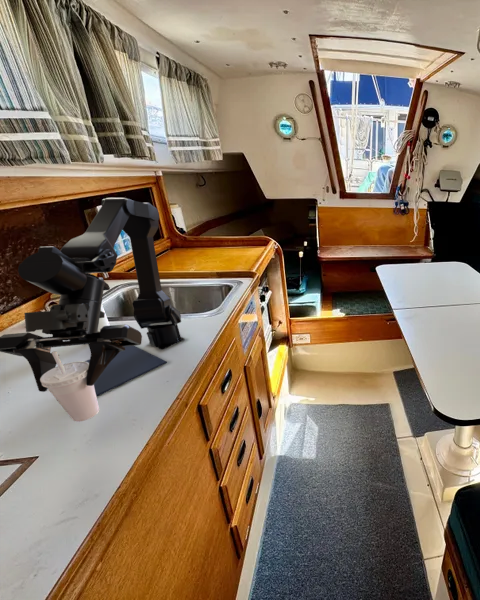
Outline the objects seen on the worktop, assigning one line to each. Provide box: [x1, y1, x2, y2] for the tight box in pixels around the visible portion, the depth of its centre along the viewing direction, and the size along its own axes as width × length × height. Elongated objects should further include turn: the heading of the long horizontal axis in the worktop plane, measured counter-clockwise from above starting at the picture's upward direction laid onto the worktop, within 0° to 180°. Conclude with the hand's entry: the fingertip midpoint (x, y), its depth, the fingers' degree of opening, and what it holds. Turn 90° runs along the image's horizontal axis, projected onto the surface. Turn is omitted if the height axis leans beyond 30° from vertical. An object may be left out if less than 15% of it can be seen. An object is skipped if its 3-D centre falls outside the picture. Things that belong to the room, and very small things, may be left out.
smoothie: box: [40, 350, 100, 423], centre depth 57 cm, size 6×6×14 cm
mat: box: [84, 346, 168, 398], centre depth 81 cm, size 18×18×1 cm
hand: (66, 388), depth 56 cm, fingers closed on smoothie, 6 cm apart
